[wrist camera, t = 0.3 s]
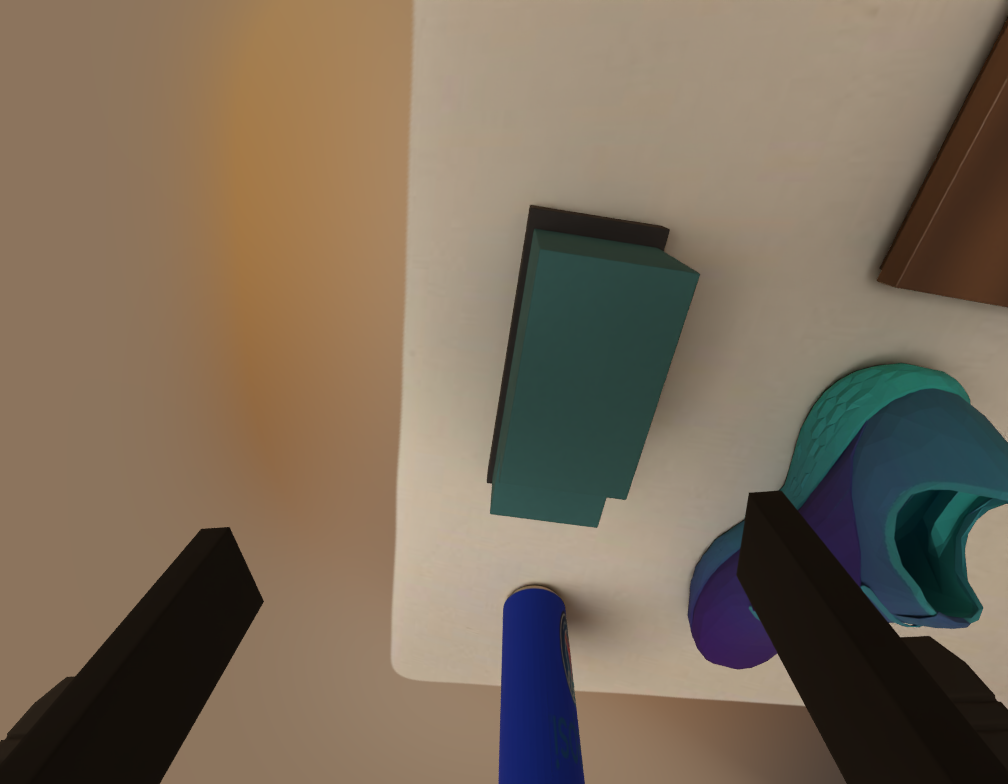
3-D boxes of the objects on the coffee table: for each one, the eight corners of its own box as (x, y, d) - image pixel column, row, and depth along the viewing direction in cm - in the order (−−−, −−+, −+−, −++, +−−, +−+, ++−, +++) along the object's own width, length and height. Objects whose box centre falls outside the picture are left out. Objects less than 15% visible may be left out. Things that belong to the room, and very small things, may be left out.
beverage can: (557, 628, 41) (577, 855, 28) (498, 620, 41) (490, 845, 27) (570, 586, 39) (600, 812, 25) (509, 577, 39) (506, 801, 25)
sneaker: (658, 612, 40) (711, 779, 29) (851, 335, 29) (1051, 440, 18) (764, 639, 41) (852, 810, 30) (988, 384, 30) (1253, 509, 19)
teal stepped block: (530, 204, 26) (535, 221, 19) (662, 226, 26) (717, 250, 19) (487, 470, 34) (480, 553, 27) (589, 483, 34) (609, 569, 27)
